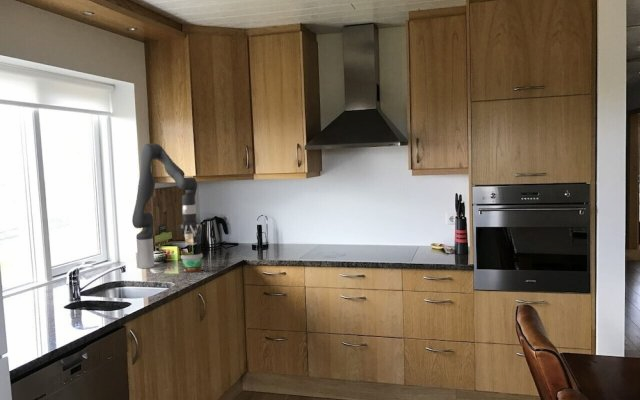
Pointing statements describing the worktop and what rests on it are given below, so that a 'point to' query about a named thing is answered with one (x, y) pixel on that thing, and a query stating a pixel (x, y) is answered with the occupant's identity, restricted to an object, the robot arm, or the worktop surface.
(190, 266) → the food container
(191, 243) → the birch block
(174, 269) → the worktop surface
